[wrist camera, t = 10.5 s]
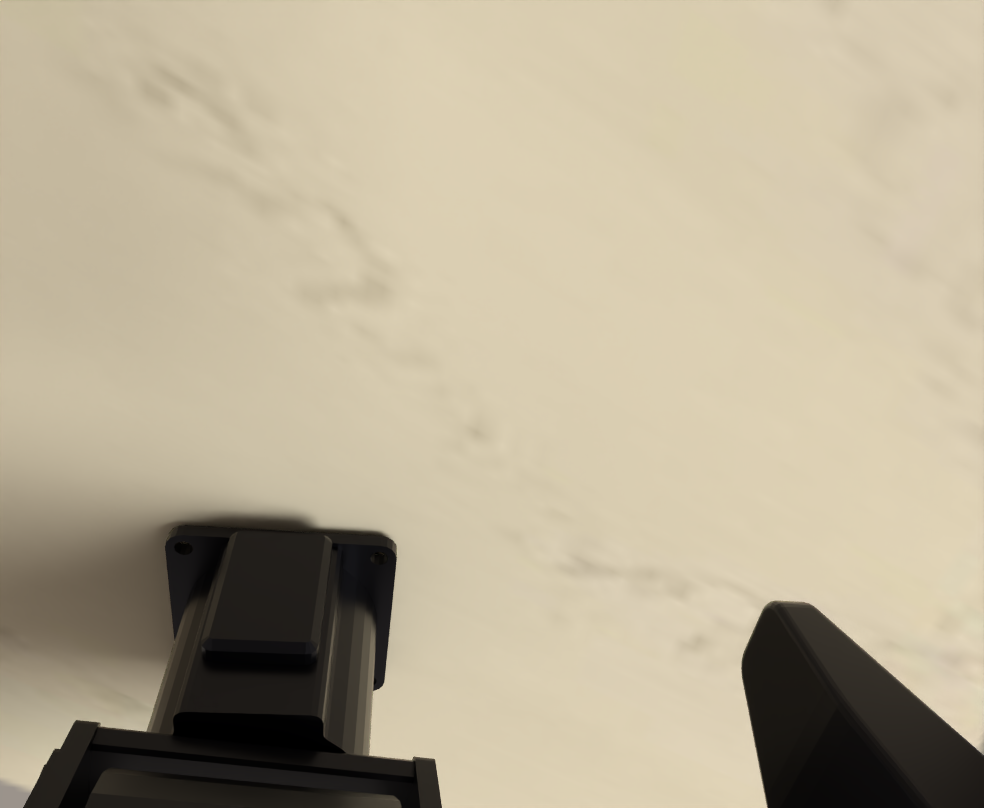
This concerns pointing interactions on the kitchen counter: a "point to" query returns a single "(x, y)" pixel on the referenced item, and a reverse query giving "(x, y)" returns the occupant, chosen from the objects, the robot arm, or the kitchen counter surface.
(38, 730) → the kitchen counter surface
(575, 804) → the kitchen counter surface
